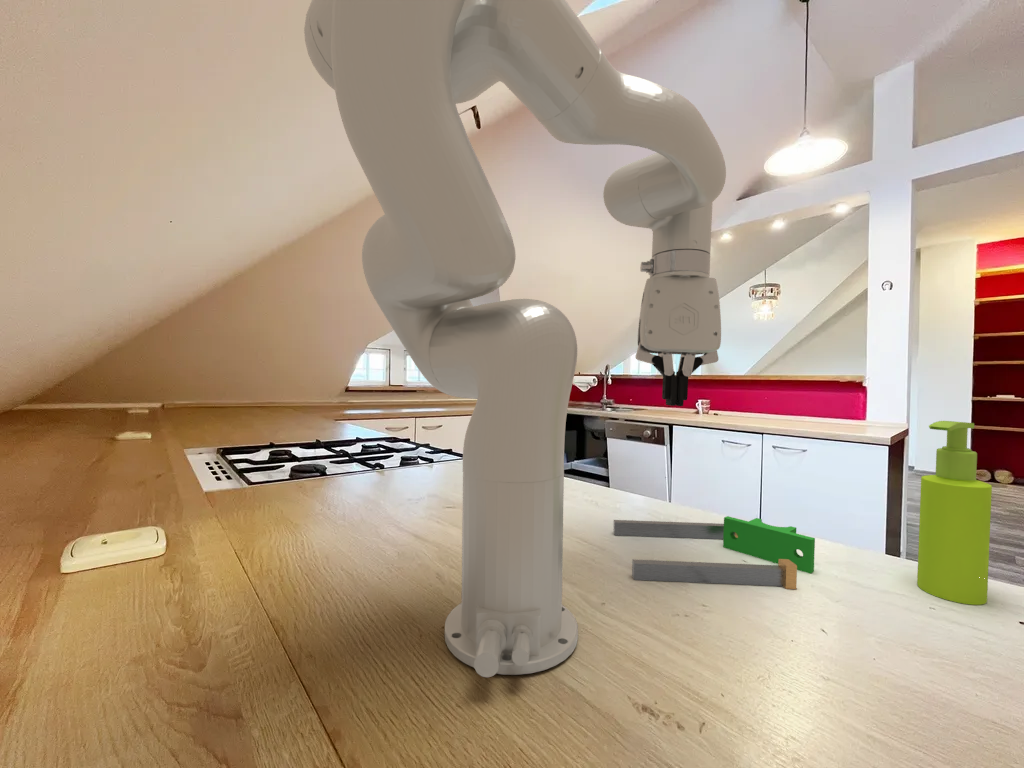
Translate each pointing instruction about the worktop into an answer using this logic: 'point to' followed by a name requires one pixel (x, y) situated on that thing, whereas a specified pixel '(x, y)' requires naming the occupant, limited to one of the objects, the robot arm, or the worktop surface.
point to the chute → (701, 571)
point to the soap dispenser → (954, 523)
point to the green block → (769, 542)
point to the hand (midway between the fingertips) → (674, 405)
